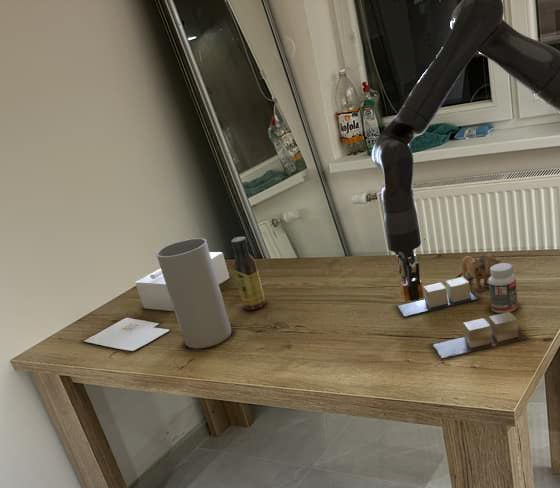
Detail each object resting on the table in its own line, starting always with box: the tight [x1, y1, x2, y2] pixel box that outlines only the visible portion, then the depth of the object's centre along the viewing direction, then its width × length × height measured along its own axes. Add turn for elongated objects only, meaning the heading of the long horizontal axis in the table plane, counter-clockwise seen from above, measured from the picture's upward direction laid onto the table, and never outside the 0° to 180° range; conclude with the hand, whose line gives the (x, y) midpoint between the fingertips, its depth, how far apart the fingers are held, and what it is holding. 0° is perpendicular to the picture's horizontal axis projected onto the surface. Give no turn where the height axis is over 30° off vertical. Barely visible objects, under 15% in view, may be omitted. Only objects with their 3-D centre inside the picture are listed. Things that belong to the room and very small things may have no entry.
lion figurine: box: [456, 253, 502, 292], centre depth 166 cm, size 15×5×9 cm, turn 26°
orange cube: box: [398, 278, 424, 302], centre depth 162 cm, size 4×4×4 cm
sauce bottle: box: [230, 236, 266, 311], centre depth 185 cm, size 7×6×20 cm
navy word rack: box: [397, 276, 478, 318], centre depth 163 cm, size 18×7×4 cm, turn 94°
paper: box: [83, 317, 170, 352], centre depth 192 cm, size 25×17×1 cm
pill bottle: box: [488, 262, 518, 314], centre depth 151 cm, size 6×6×10 cm
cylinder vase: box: [156, 237, 232, 350], centre depth 171 cm, size 12×12×25 cm
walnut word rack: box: [432, 312, 527, 360], centre depth 141 cm, size 18×7×4 cm, turn 94°
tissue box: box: [134, 251, 231, 312], centre depth 211 cm, size 14×25×11 cm, turn 142°
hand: (412, 295), depth 162 cm, fingers closed on orange cube, 4 cm apart
